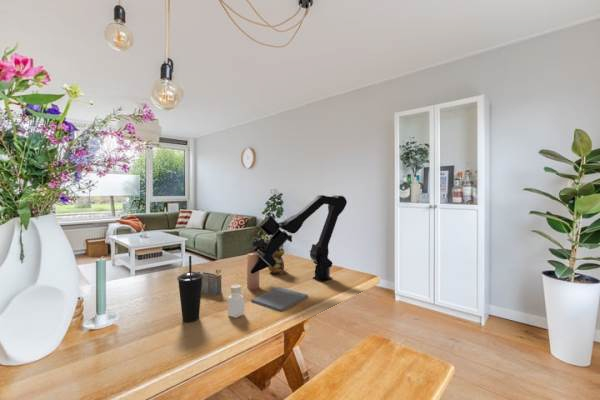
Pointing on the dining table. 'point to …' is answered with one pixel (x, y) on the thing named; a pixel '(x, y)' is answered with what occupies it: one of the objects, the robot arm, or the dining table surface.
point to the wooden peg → (253, 278)
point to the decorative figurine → (278, 262)
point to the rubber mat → (279, 298)
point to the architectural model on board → (211, 283)
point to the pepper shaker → (235, 302)
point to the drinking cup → (190, 294)
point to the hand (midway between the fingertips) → (249, 271)
